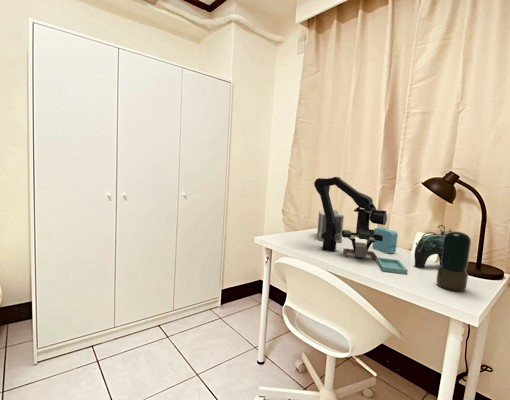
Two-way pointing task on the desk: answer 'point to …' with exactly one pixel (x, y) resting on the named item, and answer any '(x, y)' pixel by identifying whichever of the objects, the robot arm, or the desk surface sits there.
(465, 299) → the desk surface
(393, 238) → the data package
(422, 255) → the travel neck pillow
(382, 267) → the tray
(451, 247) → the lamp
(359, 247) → the grey brown block
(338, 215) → the alarm clock
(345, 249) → the grey brown u-shaped piece
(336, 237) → the robot arm
